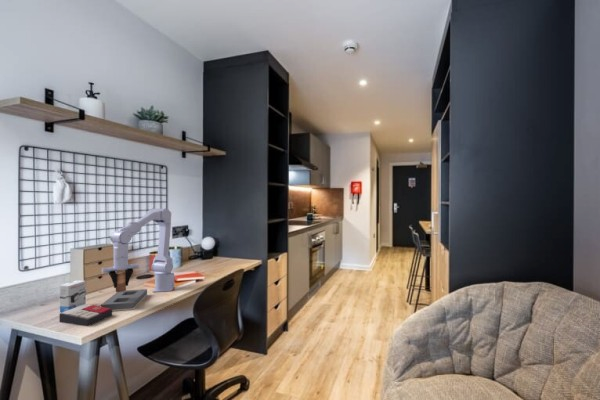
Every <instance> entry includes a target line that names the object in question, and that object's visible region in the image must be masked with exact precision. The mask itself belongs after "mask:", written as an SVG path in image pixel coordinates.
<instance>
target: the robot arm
mask: <svg viewBox="0 0 600 400" xmlns="http://www.w3.org/2000/svg"><path fill="white" fill-rule="evenodd" d="M150 222H154V223H156V224H157V225H158V226H159V233H158V245H157V246H158V247H157V255H156V256H154V258H153V261H152V264H151V270H152V272H153V274H154V289H153V290H152V293H156V292H157V293H158V292H160V293H161V292H172V291H173V289H174V288H175V287H174V286H175V273H174V272H172V271H173V269H174V262H173V258H172V257H171V256H170V255H169V252H170V242H171V241H170V240H171V238H170V237H171V229H172V228H171V227H172V212H171V211H170V210H169V208H156V207H155V208H150V209H149V210H147V212H146V213H145V214H143V216H142V217H140V218H139V219H138V220H137V221H129V222H128V224H126V225H124V227H121V228H120V229H119V230H115V231H114V232H112V234H111V236H110V238H109V239H110V242H111V243H112V246H113V266H109V267H101V273H102V274H107V273H108V275H109V277H110V279H111V281H112V283H113V284H112V285H113V288H114V289H116V287H117V284H116V277H117V274H116V273H117V272H119V271H120V272H121V271H124V272H125V273H126V287H128V286H129V282H130V279H131V277H132V275H133V273H134V269H135V270H136V269H137V270H138V269H140V264H139V263H133V264H132V263H130V264H129V243H130V242H131V241H132V238H133V237H134V236H135V235H137V234H138V233H139V232H141V231H142V227H144V226H145V225H147V224H148V223H150Z"/></svg>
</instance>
